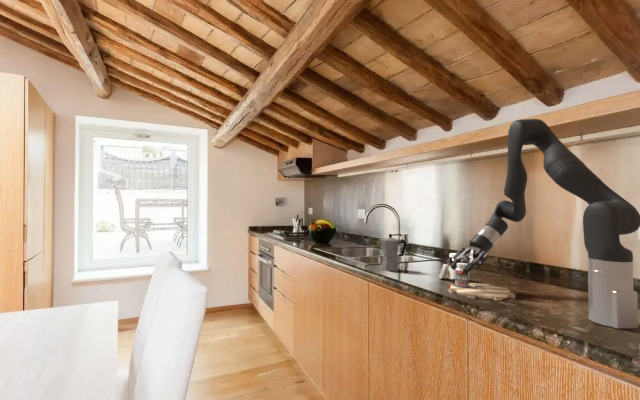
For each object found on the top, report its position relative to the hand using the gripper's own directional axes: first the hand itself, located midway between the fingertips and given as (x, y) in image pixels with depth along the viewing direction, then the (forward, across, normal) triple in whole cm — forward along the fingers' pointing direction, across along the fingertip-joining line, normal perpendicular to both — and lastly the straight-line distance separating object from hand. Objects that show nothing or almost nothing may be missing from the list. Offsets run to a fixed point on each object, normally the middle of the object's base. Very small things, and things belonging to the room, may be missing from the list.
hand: (458, 270), depth 125 cm
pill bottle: (+3, 0, +6) cm, 6 cm away
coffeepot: (+12, -42, -1) cm, 43 cm away
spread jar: (0, -15, +11) cm, 18 cm away
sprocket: (+1, +5, +9) cm, 10 cm away
